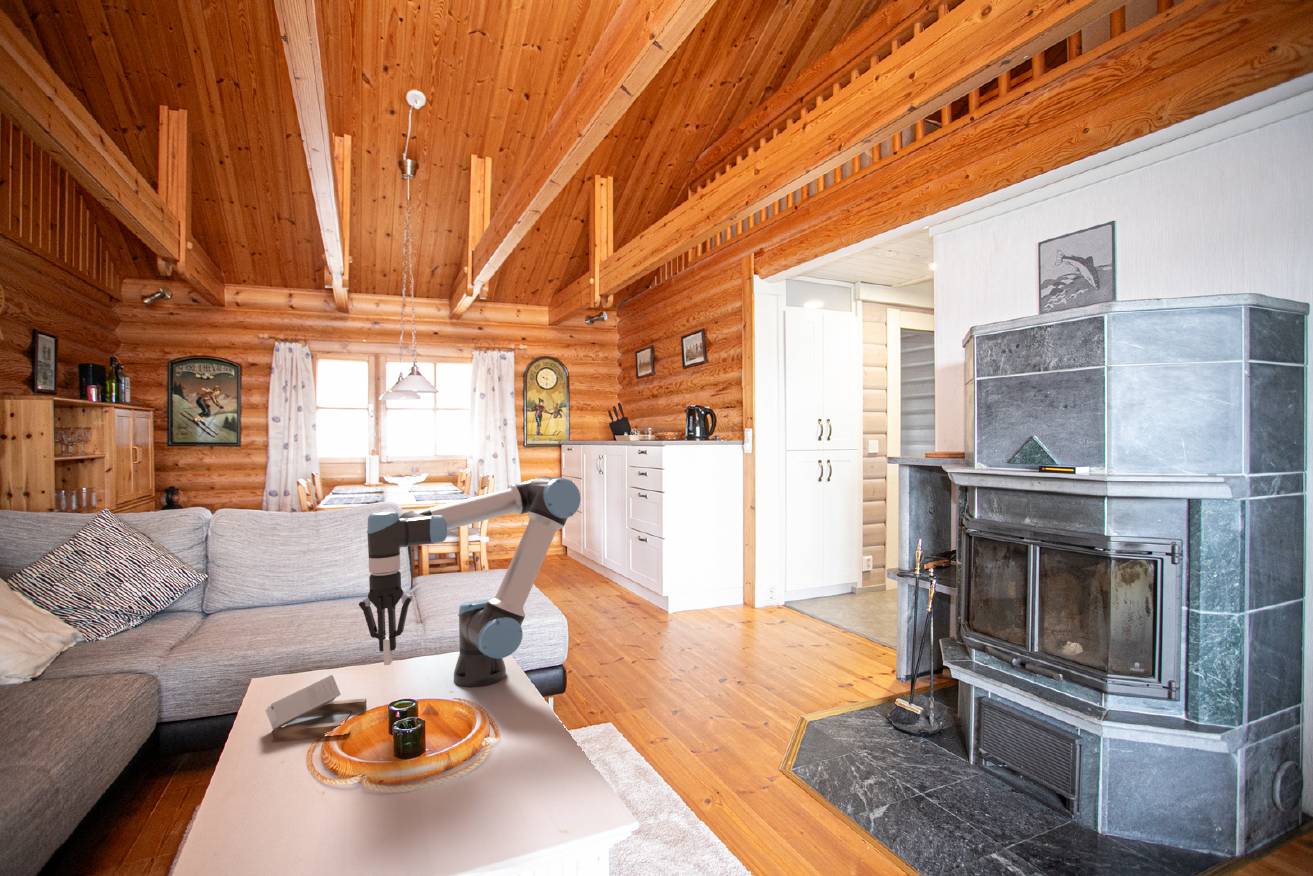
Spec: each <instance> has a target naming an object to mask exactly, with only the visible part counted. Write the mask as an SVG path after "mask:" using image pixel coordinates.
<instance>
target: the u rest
mask: <svg viewBox="0 0 1313 876" xmlns="http://www.w3.org/2000/svg"><path fill="white" fill-rule="evenodd" d="M366 709H367V698H358V699H357V698H356V699H345V700H333V701H332V702H330V703H328V704H326V705H324V706H322V707H319V708H317V709H315V710H314V711H312V712H310V713H308V714H306V715H304V716H302V717H300V718H298V719H296V720H294V721H292V722H290V723H288V724H286V725H284V726H282V727H277V728H275V729H274V730H273V729H272V730H271V742H272V743H274V742H283V741H285V742H286V741H287V742H288V741H294V740H296V741H297V740H305V739H307V740H308V739H316V738H317V739H319V738H324V737H323V736H324V735H325V733H327V732H330V731H332V730H333V729H334V728H336V727H338V726H341V724H340V723H343V722H340V721H341V720H343V719H347V718H348V719H349V718H350V717H351V715H352V713H354V712H355V713H357V712H365V711H366ZM364 710H365V711H364ZM348 719H347V720H348ZM346 725H348V724H346Z"/></svg>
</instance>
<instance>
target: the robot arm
mask: <svg viewBox="0 0 1313 876" xmlns="http://www.w3.org/2000/svg"><path fill="white" fill-rule="evenodd" d="M581 498H582V497H581V493H580V490H579V488H578V486H577V484H575V483H574V482H573V481H572V480H570V479H567V478H564V477H561V476H556V477H554V476H538V477H534V478H531V479H528V480H525V481H522V482H518V483H514V484H511V485H510V486H509V488H507V489H505V490H504V489H503V490H499V491H496V492H491V493H487V494H483V495H480V496H479V495H478V496H474V497H471V498H470V497H469V498H466V499H463V500H462V499H461V500H456V501H453V502H450V503H445V504H440V505H437V506H436V505H435V506H434V507H433V506H432V507H428V508H424V509H420V510H417V511H413V510H409V511H405V512H402V513H401V514H400V515H399V513H398V512H397V511H380V512H374V513H371V514H369V516H368V517H367V529H366V534H367V535H366V536H367V549H368V551H367V552H368V573H370V574H369V576H368V580H369V581H368V583H369V591H368V594H367V597H366V598H365V599H362V600H360V602H358V606H359V607H360V609H361V610H362V611H363V615H364V619H365V621H366V625H367V628H368V631H369V634H370V637H371V638H373V639H374V638H375V639H377V640H378V648H379V652H380V653H382V652H383V665H384V666H390V665H391V664H392V663H393V661H394V660H393V651H395V650H396V648H397V637H399V636H401V635H402V634H403V632H404V629H405V625H406V619H407V615H408V610H409V605H410V604H411V602H412V601H413V596H411V595H409V596H408V595H407V594H405V592H404V590H403V589H402V581H401V580H402V577H401V576H402V573H401V571H400V570H401V551H400V550H401V548H406V547H413V546H415V547H416V546H423V545H431V544H432V545H435V544H438V543H443V542H444V541H446V539H447V537H448V531H449V530H452V529H457V528H461V527H464V526H467V525H468V526H469V525H471V524H475V523H480V522H483V521H487V520H491V519H495V518H499V517H504V516H506V515H511V514H515V515H517V516H520V515H524V514H527V515H528V518H529V521H528V523H527V525H526V527H525V530H524V532H523V534H522V536H521V539H520V541H519V543H518V546H517V548H516V550H515V552H514V555H513V556H512V559H511V561H510V563H509V565H508V568H507V569H506V572H505V574H504V576H503V578H502V581H501V583H500V585H499V588H498V590H497V593H496V594H495V595H494V597H492V598H490V599H489V598H485V599H484V598H483V599H476V600H470V601H467V602H463V603H461V604H460V605H459V608H458V630H459V631H458V637H459V638H458V640H459V642H458V643H459V644H458V645H459V647H458V648H459V655H458V657H457V661H456V664H455V668H454V671H453V683H455V684H456V685H459V686H461V687H483V686H487V685H493V684H495V683H498V682H499V681H501V680H503V679H504V678H505V677H506V674H507V671H506V670H507V669H506V668H507V667H506V664H505V662H504V658H507V657H509V656H511V655H513V654H514V653H515V652H516V651H517V650H518V648H519V647H520V645H521V643H522V641H523V634H524V633H523V628H522V624H523V622H524V619H525V617H526V613H525V610H524V607H525V604H526V602H527V600H528V597H529V595H530V592H531V591H532V588H533V586H534V583H535V582H536V579H537V576H538V575H539V572H540V570H541V568H542V565H543V563H544V562H545V561H544V560H545V558H546V555H547V554H548V552H549V549H550V547H551V544H552V542H553V540H554V537H555V535H556V533H557V531H559V530H561V529H564V527H565V525H566V522H567V520H568V518H570V517H572V516H573V515H575V514H576V513H577V512H578V510H579V508H580V505H581ZM400 600H401V604H402V606H401V609H400V614H399V619H398V624H397V622H396V609H397V608H396V606H397V604H398V603H399V602H400ZM371 604H373V606H374V607H375V608H376V614H377V623H376V621H375V617H374V614H373V610H372V607H371ZM386 610H387V618H388V621H387V622H388V636H386V635H387V633H386Z"/></svg>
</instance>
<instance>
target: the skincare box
mask: <svg viewBox="0 0 1313 876" xmlns="http://www.w3.org/2000/svg"><path fill="white" fill-rule="evenodd" d="M341 695H342V694H341V691H340V688H339V687H338V684H337V682H336V679H335V678H334V676H333V674H330V675H328V676H326V677H324V678H321V679H320V680H318V681H316V682H313V683H312V684H310V685H307V686H305V687H303V688H301V689H299V690H297V691H295V692H293V693H291V694H288V695H287V696H285V697H283V698H279V699H278V700H276V701H274V702H271V704H270V705H269V706H267V708H266V709H265V713H266V715H267V718H268V721H269V722H270V726H271V729H272V731H273V730H274V729H275V728H277V727H285V726H286V725H287V724H288V723H290V722H292V721H294V720H296V719H298V718H300V717H302V716H304V715H306V714H308V713H310V712H312V711H314V710H315V709H317V708H319V707H322V706H324V705H326V704H328V703H330V702H332V701H335V699H336V698H338V697H339V696H341Z"/></svg>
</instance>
